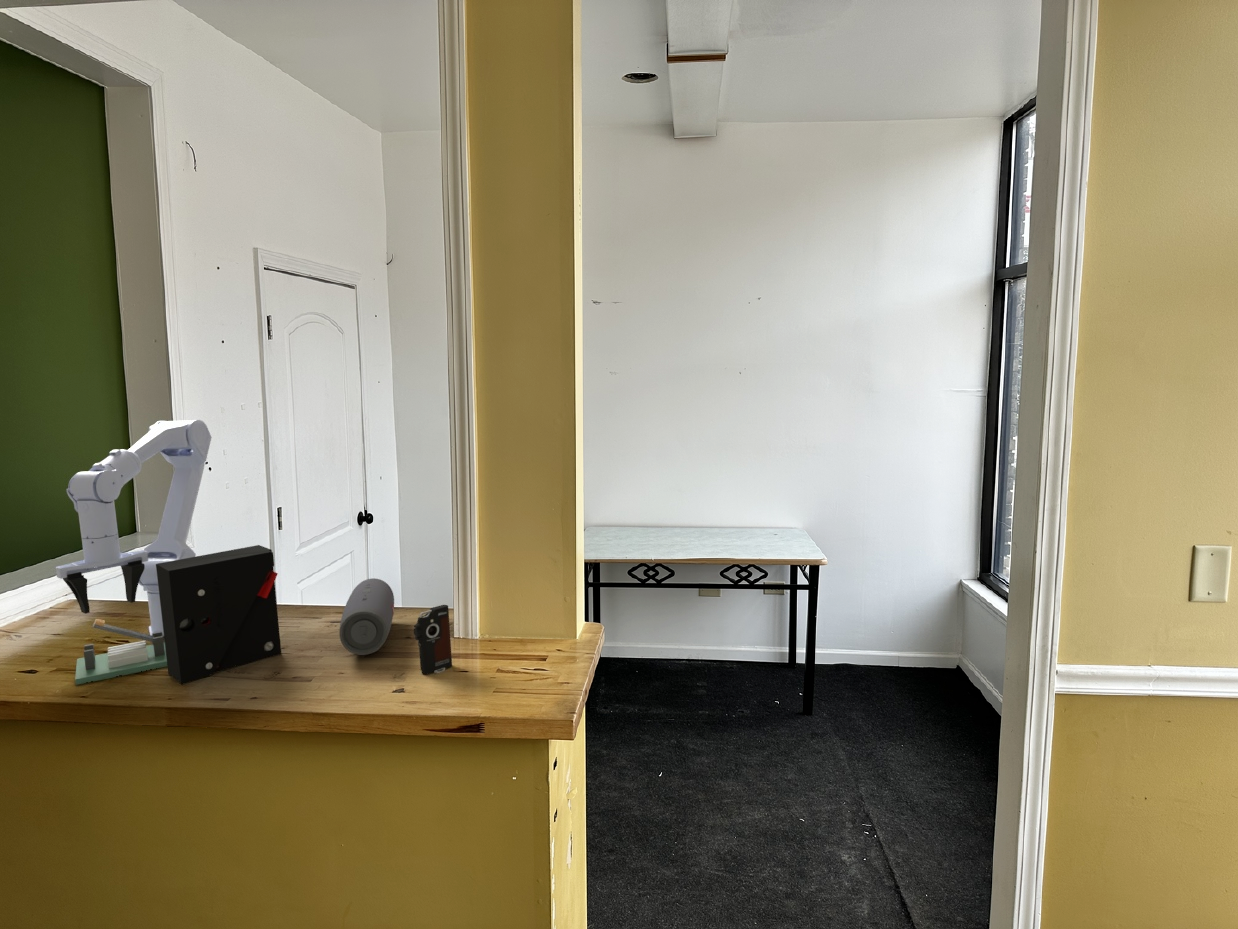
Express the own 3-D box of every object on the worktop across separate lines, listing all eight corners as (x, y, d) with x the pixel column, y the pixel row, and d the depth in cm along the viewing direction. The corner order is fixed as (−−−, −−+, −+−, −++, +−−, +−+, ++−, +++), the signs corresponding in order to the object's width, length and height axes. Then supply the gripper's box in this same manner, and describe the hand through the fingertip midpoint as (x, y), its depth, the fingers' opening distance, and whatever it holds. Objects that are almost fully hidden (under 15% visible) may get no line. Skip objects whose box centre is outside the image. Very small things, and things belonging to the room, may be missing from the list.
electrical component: (264, 643, 157) (254, 543, 154) (285, 656, 150) (275, 551, 147) (164, 670, 145) (152, 561, 142) (182, 685, 138) (169, 571, 135)
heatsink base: (175, 645, 158) (173, 623, 157) (180, 663, 148) (178, 640, 147) (77, 664, 149) (74, 641, 149) (75, 685, 139) (72, 660, 139)
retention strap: (160, 641, 152) (163, 635, 152) (160, 644, 150) (163, 638, 150) (92, 625, 146) (96, 618, 146) (92, 628, 144) (96, 621, 144)
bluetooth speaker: (392, 659, 147) (388, 605, 145) (338, 665, 145) (334, 611, 143) (398, 620, 169) (395, 573, 167) (351, 624, 167) (348, 577, 165)
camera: (421, 677, 137) (417, 615, 136) (415, 673, 140) (410, 611, 138) (455, 668, 141) (451, 607, 140) (449, 663, 143) (445, 603, 142)
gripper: (134, 526, 157) (142, 593, 159) (46, 540, 146) (56, 613, 148) (149, 529, 153) (157, 599, 154) (60, 545, 141) (69, 620, 143)
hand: (108, 606), depth 151 cm, fingers open, 7 cm apart
